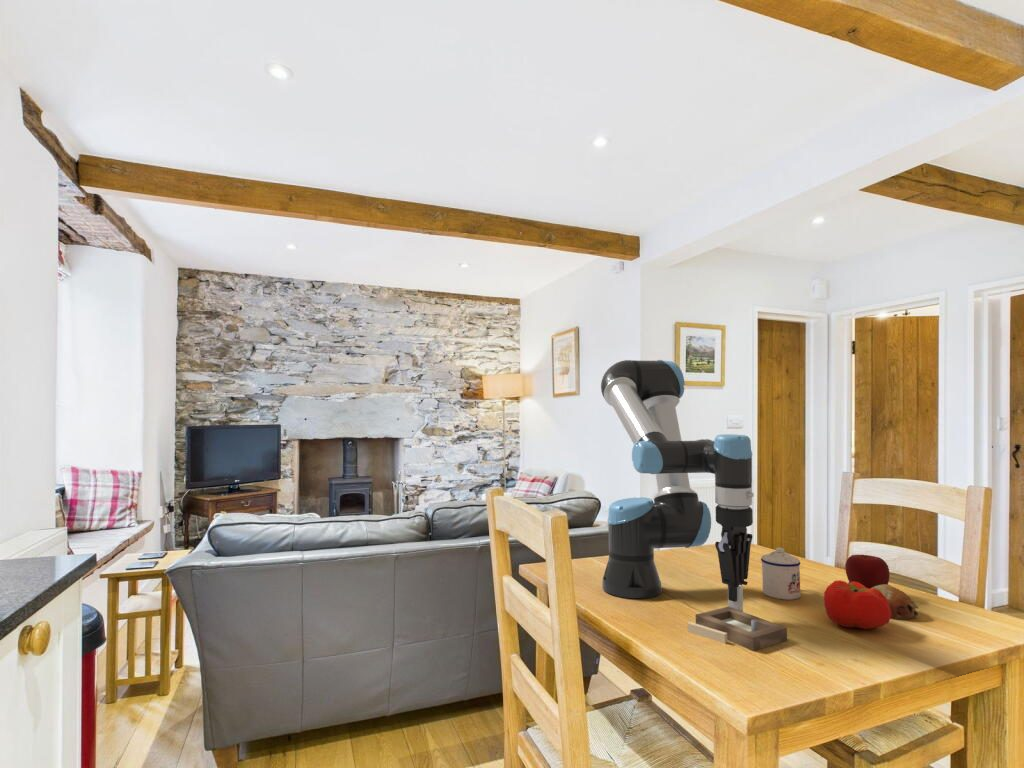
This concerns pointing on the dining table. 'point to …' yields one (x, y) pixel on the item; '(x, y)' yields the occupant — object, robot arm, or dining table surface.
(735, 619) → the walnut frame
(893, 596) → the bread roll
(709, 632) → the wall panel
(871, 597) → the tomato
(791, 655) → the dining table surface
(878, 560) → the apple
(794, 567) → the teacup with lid
